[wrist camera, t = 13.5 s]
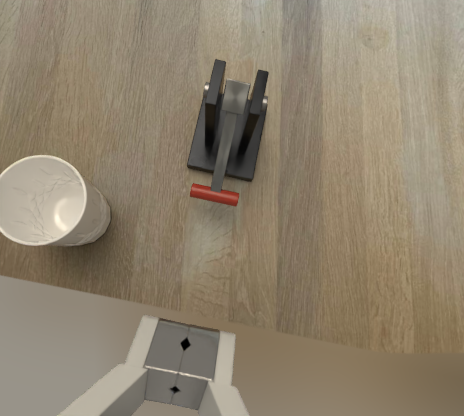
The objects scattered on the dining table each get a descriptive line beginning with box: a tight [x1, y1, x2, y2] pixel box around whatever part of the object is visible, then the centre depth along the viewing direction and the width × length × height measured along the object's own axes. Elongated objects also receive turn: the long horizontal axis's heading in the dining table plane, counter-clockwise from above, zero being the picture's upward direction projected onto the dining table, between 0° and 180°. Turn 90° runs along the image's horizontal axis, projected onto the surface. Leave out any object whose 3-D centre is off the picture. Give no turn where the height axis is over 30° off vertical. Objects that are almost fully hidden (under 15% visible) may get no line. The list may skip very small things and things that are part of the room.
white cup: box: [0, 155, 111, 246], centre depth 33 cm, size 8×8×10 cm
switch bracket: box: [187, 59, 268, 182], centre depth 35 cm, size 10×8×12 cm
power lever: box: [190, 79, 250, 206], centre depth 33 cm, size 12×5×2 cm, turn 169°
